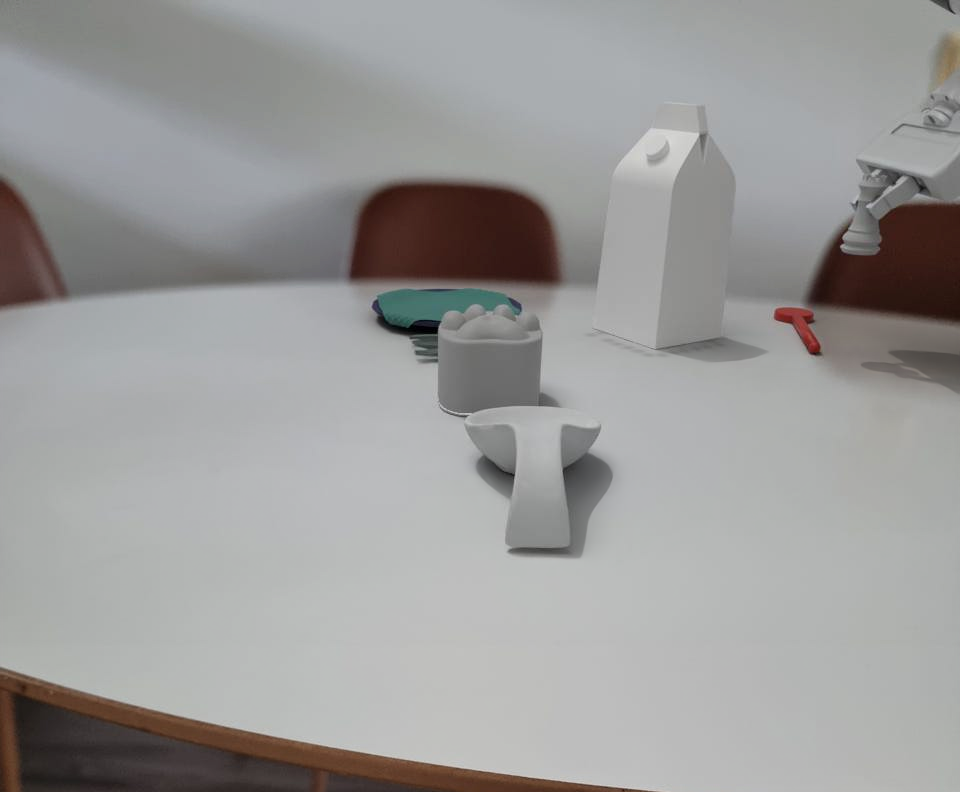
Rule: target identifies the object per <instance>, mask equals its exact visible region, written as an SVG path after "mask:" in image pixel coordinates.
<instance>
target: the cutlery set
mask: <svg viewBox="0 0 960 792" xmlns="http://www.w3.org/2000/svg"><path fill="white" fill-rule="evenodd" d="M475 304H478V305H481V306H482V307H483V308H484V309H485V311H494V309H495V308H496V307H497V306H499V305H508V306H509V307H510V308H511V309H512V311H513V313H514V315H517V316H519V315H520V314H521V313H522V311H523V307H522V303H520V302H518V301H517V300H515V299H514V298H513V297H509V296H508V295H507V294H506V293H501V292H498V291H493V290H488V289H481V288H471V287H466V288H424V289H423V288H421V289H414V288H400V289H395V290H390V291H386V292H383V293H380V294H377V295H376V299H374V300H373V301H372V304H371V309H372V310H373V311H374V312H375V313H376V314H377V315H379V316H381V317H383V318H385V320H386V322H387V323H389V324H390V325H394V326H399V327H403V328H407V329H409V328H410V326H411V325H413V326H419V327H428V328H429V327H431V328H439V325H440V323H441V321H442V318H443V316H444V314H445V313H446V312H448V311H458V312H460V313H461V314H464V313H465V311H466V310H467V309H468V308H469V307H470V306H472V305H475ZM408 338H409V340H411V341H410V342H411V344H412V345H414V346H416V347H418V348H422V349H414V353H415V354H416V355H417V356H423V357H425V356H438V333H433V334H432V333H431V334H429V333H428V334H427V333H426V334H413V335H409V337H408Z"/></svg>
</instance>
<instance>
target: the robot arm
mask: <svg viewBox="0 0 960 792" xmlns="http://www.w3.org/2000/svg"><path fill="white" fill-rule="evenodd" d="M929 1H930V2H931V3H934V4H935V5H937V6H938V7H941V8H942V9H943V10H946V11H947V12H949V13H951V14H953V15H957V16H958V17H960V0H929ZM855 162H856V164H857V166H858V167H859V168H860V170H861V172H862V173H863V175H867V174H871V176H874V177H875V174H876V175H879V177H881V176H882V175H885V176H887V180H886V181H887V183H888V185H889V187H891V188H889V189H887V190H885V191H884V192H883V194H882V195H881V196H880V195H877V196H876V197H875V198H874V199H872V201H871V202H869V203H868V204H867V206H866V210H867V212H868V213H869V215H870V216H871V217H873V218H875V219H879V220H881V219H883V217H884V216H886V215H887V214H888V213H889V212H890V211H892V210H893V209H895V208H897V207H899V206H901V205H904V204H905V203H907V202H908V201H911V200H912V199H913V198H914V197H915V196H916V195H917V194H918V195H921V196H925V197H929V198H933V199H936V200H940V201H942V202H951V201H953V200H955V199H958V198H959V197H960V67H958V69H956V70H955V71H954V72H953V73H952V74H951V75H950V76H949V77H948V78H946V80H944V81H943V82H942V83H941V84H940V85H939V86H938V87H937V88H936V89H935V90H933V92H932V93H930V95H929V98H928V107H925V108H923V109H922V110H921V111H915V110H913V111H908V112H905V113H904V114H902V115H900V116H899V117H898V118H896V119H895V120H894V121H892V122H891V123H890V124H888V125H887V126H886V127H885V128H884V129H883V130H882V131H880V132H879V133H878V134H877V135H876V136H874V137H873V138H872V139H871V140H869V142H867V143H866V144H865V145H864V146H863V147H862V148H861V149H860V150H859V152H858V153H857V155H856V156H855ZM860 193H861V190H860V189H859V191H858V192H857V193H856V194H855V195H853V196H852V197H851V199H850V200H849V205H850V206H851V208H852V209H853V211H854V212H856V210H857V206H858V200H857V199H858V198H859V197H860Z"/></svg>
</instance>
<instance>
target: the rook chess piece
mask: <svg viewBox="0 0 960 792" xmlns="http://www.w3.org/2000/svg"><path fill="white" fill-rule="evenodd" d="M886 180H887V176H885V175H882V176H881V177H879V175H876V174H875V177H874V176H871V174H867V175H865V174H862V179H861V181H859V182H858V183H857V186H858V189H859V191H860V190H861V193H860V197H859V198H858V199H857V200H858V206H857V210H856V211H855V213H854V216H853V220H852V222H851V224H850V226H849V227H848V228H847V229H848V230H847V231H846V232H844V233H843V235H842V237H841V239H842V241H843V243H842V244H840V246H839V248H840V250H841V252H843V253H845V254H848V255H855V256H875V255H877V254H878V253H879V252H880V251H881V248H880V246H879V244H880V243H882V241H883V237H882V235H881V234H880V231H881V229H880V226H879V220H880V219H875V218H873V217H871V216H870V215H869V213H868V212H867V210H866V206H867V204H868V203H869V202H871V201H872V199H874V198H875V197H876V196H877V195H880V196H881V195H882V194H884V193H885V192H886V191H887V190H888V188H890V186H889V185H888V183H887V181H886Z"/></svg>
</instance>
